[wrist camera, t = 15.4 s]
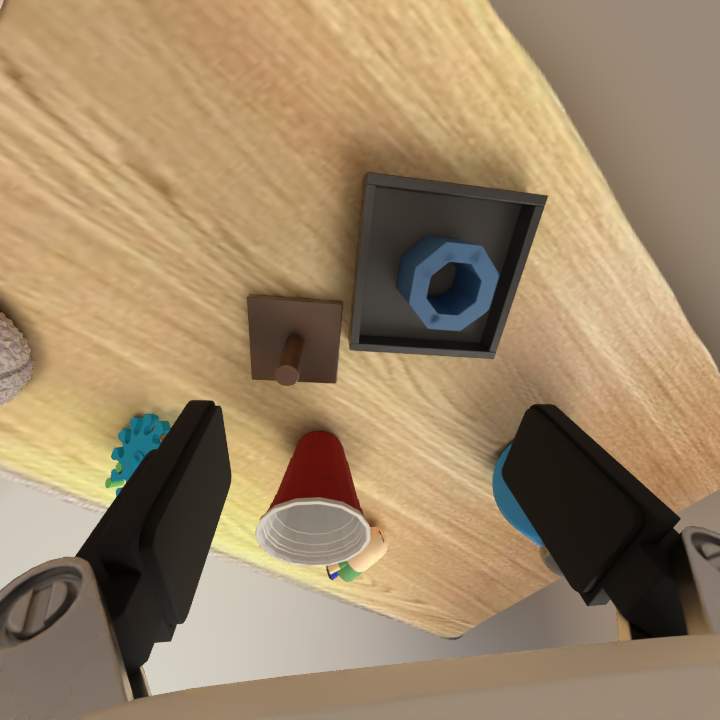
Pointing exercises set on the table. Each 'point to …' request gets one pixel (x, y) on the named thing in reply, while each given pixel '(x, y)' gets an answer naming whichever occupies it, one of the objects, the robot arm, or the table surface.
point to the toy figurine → (361, 557)
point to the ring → (468, 289)
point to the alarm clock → (518, 513)
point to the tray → (441, 219)
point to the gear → (135, 447)
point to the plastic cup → (315, 508)
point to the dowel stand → (294, 339)
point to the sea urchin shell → (13, 360)
